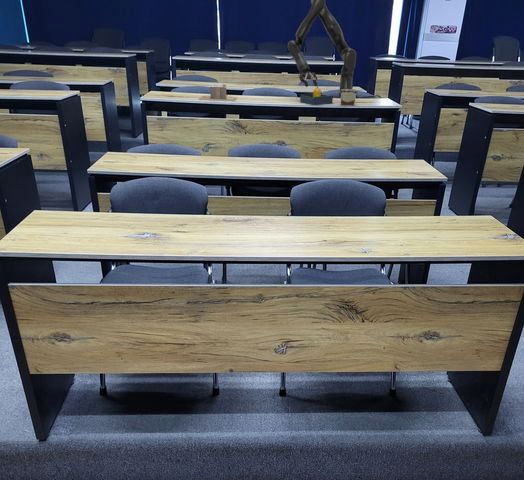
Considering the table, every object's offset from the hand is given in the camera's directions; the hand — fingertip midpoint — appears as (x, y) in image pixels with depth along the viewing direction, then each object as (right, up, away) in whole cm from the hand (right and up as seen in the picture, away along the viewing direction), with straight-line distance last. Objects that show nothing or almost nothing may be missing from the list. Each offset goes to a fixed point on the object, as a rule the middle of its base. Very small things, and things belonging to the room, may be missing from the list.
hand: (311, 85), depth 378 cm
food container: (+25, -16, -3) cm, 30 cm away
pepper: (+3, -11, +2) cm, 12 cm away
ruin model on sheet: (-69, -7, +6) cm, 69 cm away
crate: (+3, -11, +2) cm, 12 cm away
